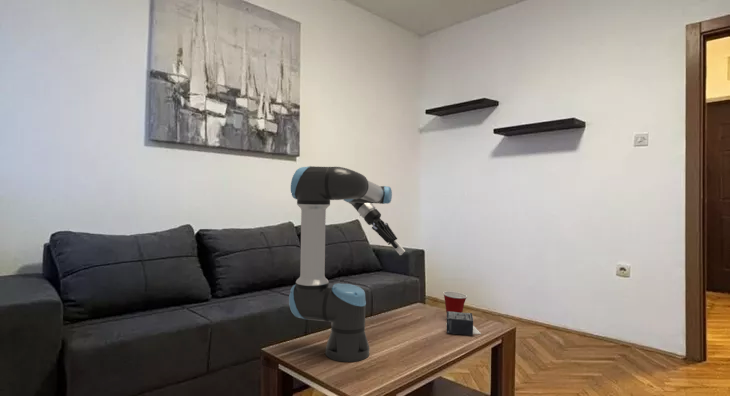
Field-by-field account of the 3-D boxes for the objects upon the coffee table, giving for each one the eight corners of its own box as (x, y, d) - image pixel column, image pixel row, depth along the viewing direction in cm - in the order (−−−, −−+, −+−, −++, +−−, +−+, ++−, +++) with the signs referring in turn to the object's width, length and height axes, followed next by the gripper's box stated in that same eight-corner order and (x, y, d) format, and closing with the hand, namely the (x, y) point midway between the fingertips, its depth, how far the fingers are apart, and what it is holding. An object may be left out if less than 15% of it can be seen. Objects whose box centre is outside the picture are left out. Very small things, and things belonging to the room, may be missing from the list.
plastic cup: (465, 324, 180) (466, 297, 180) (440, 322, 184) (441, 294, 184) (467, 318, 191) (468, 291, 191) (443, 315, 194) (444, 289, 194)
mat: (452, 333, 168) (452, 333, 168) (445, 323, 181) (445, 323, 181) (481, 334, 168) (481, 333, 168) (471, 324, 181) (471, 323, 181)
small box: (446, 334, 167) (473, 336, 165) (446, 318, 167) (473, 320, 165) (446, 325, 177) (471, 327, 175) (446, 310, 177) (472, 312, 175)
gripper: (370, 218, 198) (402, 256, 190) (357, 219, 186) (390, 260, 178) (381, 207, 195) (413, 246, 188) (368, 208, 184) (402, 249, 176)
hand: (402, 253), depth 183 cm, fingers closed
